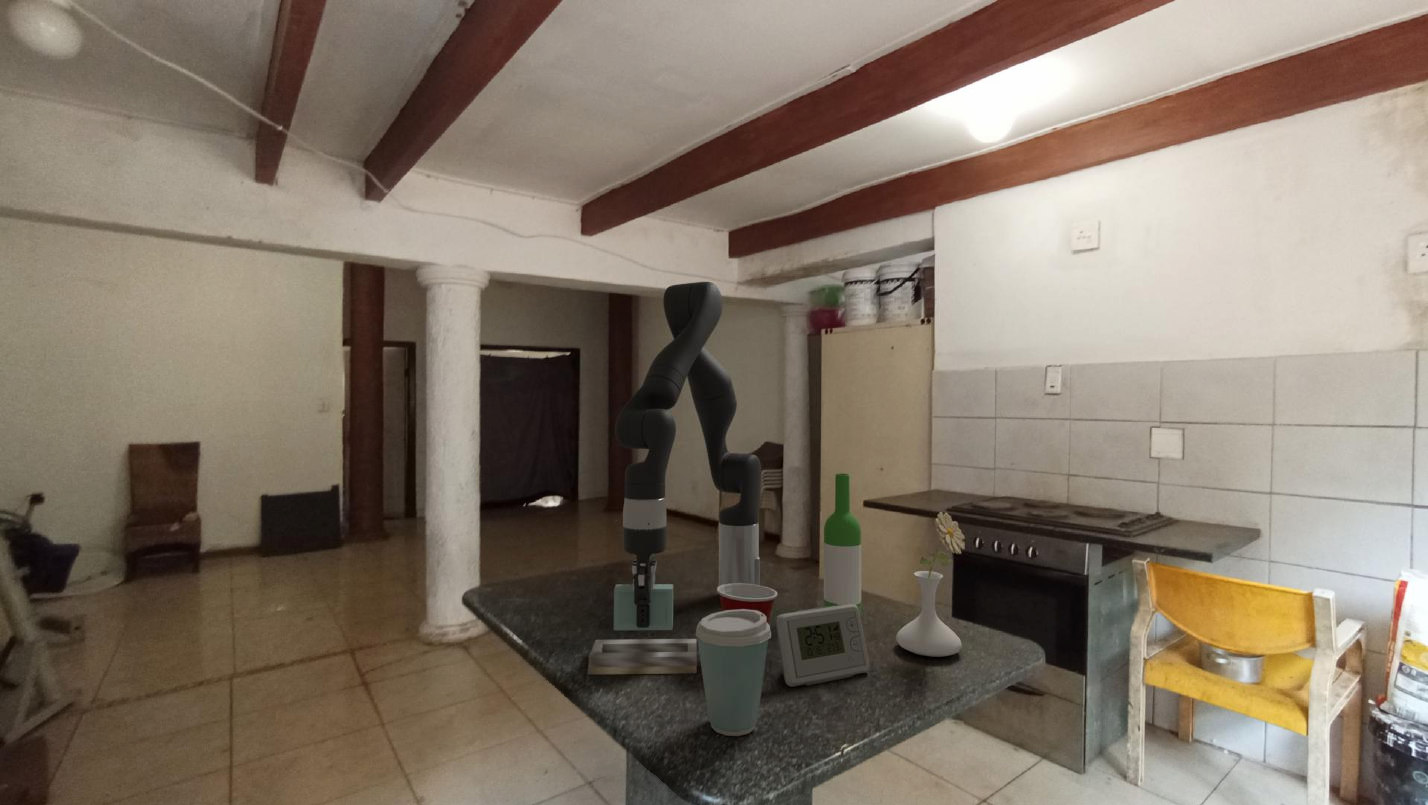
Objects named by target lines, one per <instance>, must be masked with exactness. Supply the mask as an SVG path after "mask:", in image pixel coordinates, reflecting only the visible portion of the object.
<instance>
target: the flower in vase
mask: <svg viewBox="0 0 1428 805" xmlns="http://www.w3.org/2000/svg"><path fill="white" fill-rule="evenodd" d="M934 525H935V527H936V532H937V534H938V539H939V542H938V544H937V547H936V549H935V553H934V556H933V560H932V561H931V560H929V559H927V558H925V557H923V556H921V557H920V561H919V564H920V565H923V566H926V567H929V570H928V571H927V570H926V571H925V570H923V571H922V570H921V571H920V570H919V571H915V572H914V573H913V575H914V576H915V578H916V579H917V581H918V583H919V587H920V592H921V612H920V613H919V615H918V616H917V617H916V618H914V619H913V620H912V621H910V622H908V623H907V624H906V625H904V626H903V627H902V628H901V629H899V630H898V631H897V634H896V636H895V640H896V642H897V643H898V645H899V646H900V648H902V649H904V650H907V651H909V652H911V653H913V654H916V655H920V656H926V657H936V658H939V657H940V658H941V657H948V656H953V655H955V654H957V653H959V651H961V649H962V647H963V643H962V641H961V639H960V637H959V636H958V635H957V634H956V633H955V632H954V631H953V630H952V629H951V628H950V627H949V626H947V625H946V624H945V623H944V622H943V621H942V620H941V619H940V618H939V617H938V616H937V612H936V604H935V603H936V594H937V588H938V586H939V583H940V582H941V580H942V579H943V577H944V575H943V574H941V573H939V572H936V571H933V568H934V565H935V564H936V560H937V562H938V563H939V564H941V565H942V566H944V567H945V566H946V567H947V566H949V564H951V563H952V559H951V557H950V556H949V554H947V553H946V552H944V551H939V549H940V547H941V544H943V546H945V548H946V550H947V551H951V552H952V553H953V554H957V555H961V554H962V550H965V549H966V546H965V545H966V543H965V541H963V540H965V538H966V537H965V535H964V534H963V533H962V530H961V529H960V528H959V524H958V521H955V520H954V521H953V519H952V516H951V515H949V513H948V512H945V513H943V512H942V511H940V512H939V513H938V514H937V518H935V524H934ZM961 549H962V550H961Z"/></svg>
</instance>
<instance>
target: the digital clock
mask: <svg viewBox="0 0 1428 805" xmlns="http://www.w3.org/2000/svg"><path fill="white" fill-rule="evenodd" d="M861 620H862V619H861V613H860V614H859V610H858V607H857V606H856V605H855V604H848V605H841V606H836V605H834V606H827V607H824V606H821V607H814V608H813V607H812V608H809V609H801V610H795V612H788V613H787V612H786V613H781V614H778V615H777V616H776V617H775V629H776V634H777V635H776V636H777V640H778V641H777V642H778V648H779V653H780V654H779V655H780V660H781V666H782V667H781V668H782V673H783V678H784V679H783V680H784V682H785V684H786V685H787V686H788V687H791V688H792V687H793V688H795V687H797V686H798V687H799V686H804V685H805V686H812V685H816V684H821V683H827V682H830V681H831V682H832V681H837V680H842V679H847V678H851V677H854V675H859V674H865V673H867V672H868V671H869V670H870V659H869V655H868V650H867V646H866V639H865V636H864V635H865V634H864V631H863V626H862V621H861Z"/></svg>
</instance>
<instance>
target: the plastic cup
mask: <svg viewBox="0 0 1428 805" xmlns="http://www.w3.org/2000/svg"><path fill="white" fill-rule="evenodd" d="M716 591H717V593H718V597H719V602H720V606H721V609H722V611H726V610H738V609H747V610H757V611H759V612H761V613H763V614H764V615H765V616H766V622H767V623H768V624H769V622H770V618H771V611H772V608H773V605H774V603H775V599H776V598H777V597H778V592H777V591H776V590H775V589H773V588H770V587H767V586H765V585H764V586H763V585H760V586H759V585H754V584H742V583H735V584H725V585H721V586H719V585H718V586H717V587H716ZM722 611H721V612H722Z"/></svg>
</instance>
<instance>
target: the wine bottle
mask: <svg viewBox="0 0 1428 805" xmlns="http://www.w3.org/2000/svg"><path fill="white" fill-rule="evenodd" d="M834 478H835V482H834V483H835V485H834V488H835V490H834V491H835V493H834V494H835V495H834V499H835V500H834V511H833V512H832V513H831V514H830V515H829V516H828V518H827V519H826V520H825V524H824V527H823V607H827V606H834V605H836V606H841V605H848V604H855V605H856V606H857V607H858V610H859V614H860V615H861V613H862V529H861V528H862V527H861V525H860V522H859V520H858V519H857V517H856V516H855V515H854V514H853V513H852V512H851V510H850V507H851V505H850V504H851V503H850V501H851V500H850V497H851V496H850V494H851V492H850V474H849V473H836V474H835V477H834Z"/></svg>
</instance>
